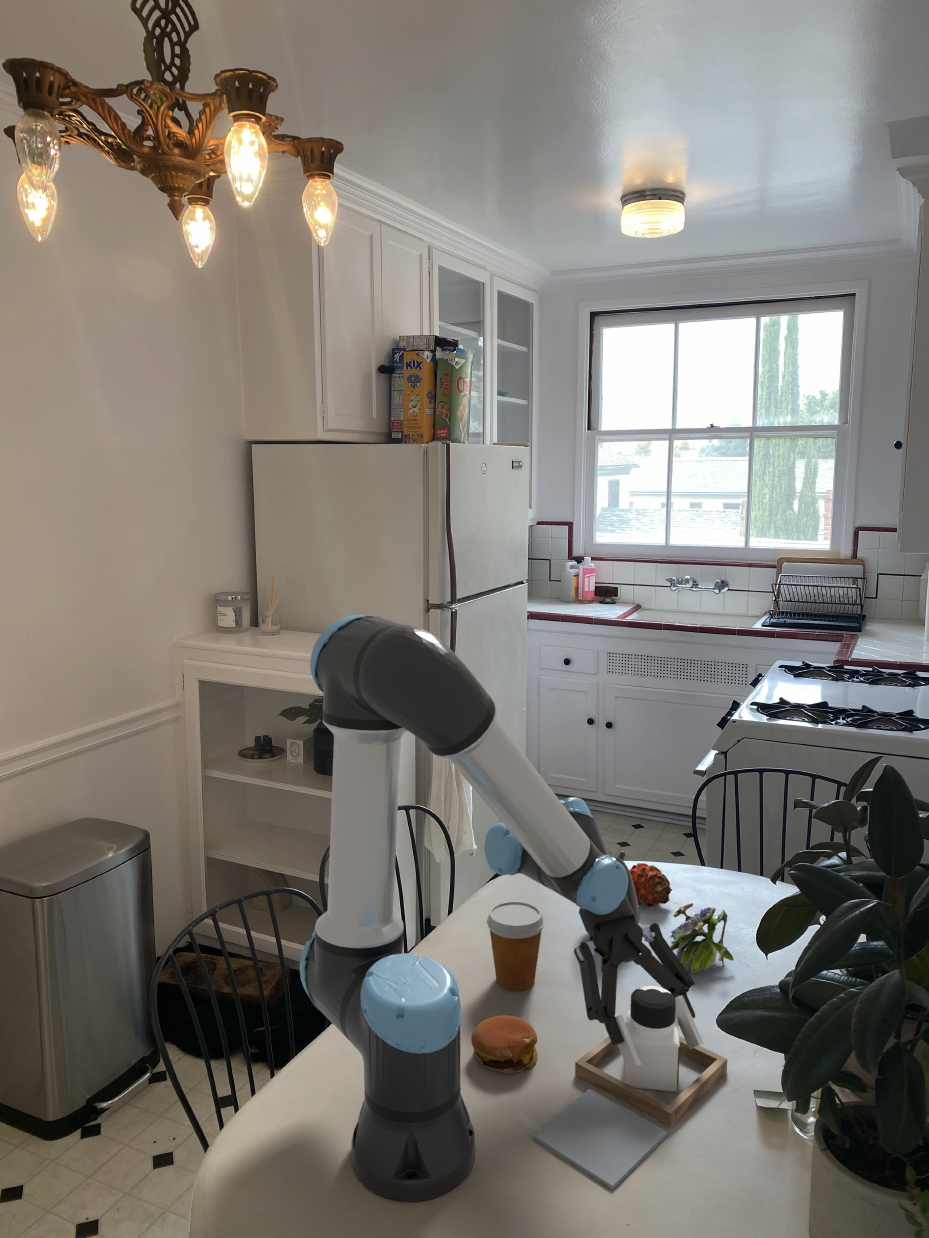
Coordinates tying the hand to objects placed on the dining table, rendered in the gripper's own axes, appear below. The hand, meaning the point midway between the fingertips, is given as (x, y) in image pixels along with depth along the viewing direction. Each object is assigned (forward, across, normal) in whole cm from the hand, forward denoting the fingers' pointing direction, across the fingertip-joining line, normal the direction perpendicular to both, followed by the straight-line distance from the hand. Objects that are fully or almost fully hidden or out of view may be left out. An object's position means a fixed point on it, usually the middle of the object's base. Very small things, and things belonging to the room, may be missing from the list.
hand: (666, 1056), depth 122 cm
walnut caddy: (+1, 0, -5) cm, 5 cm away
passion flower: (-13, -27, -20) cm, 36 cm away
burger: (-8, +16, -14) cm, 23 cm away
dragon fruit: (-29, -30, -35) cm, 55 cm away
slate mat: (+6, +13, 0) cm, 15 cm away
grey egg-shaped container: (-23, -17, -30) cm, 41 cm away
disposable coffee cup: (-19, +5, -26) cm, 33 cm away
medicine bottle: (+1, 0, -6) cm, 6 cm away
